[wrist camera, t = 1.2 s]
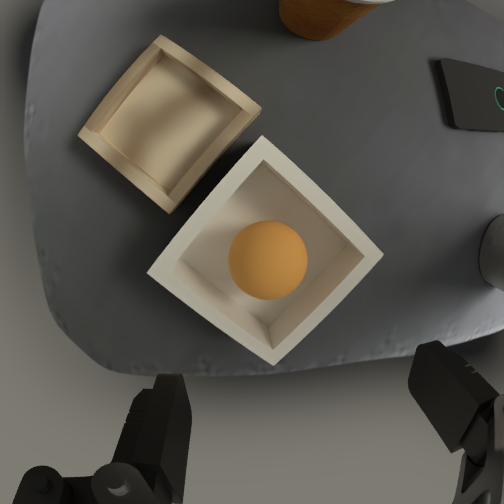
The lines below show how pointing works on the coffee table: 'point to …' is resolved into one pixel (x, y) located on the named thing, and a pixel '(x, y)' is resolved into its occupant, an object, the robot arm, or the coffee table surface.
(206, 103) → the tray
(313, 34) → the disposable coffee cup
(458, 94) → the smart home device
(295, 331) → the white square bin
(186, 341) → the coffee table surface
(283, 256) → the ball
